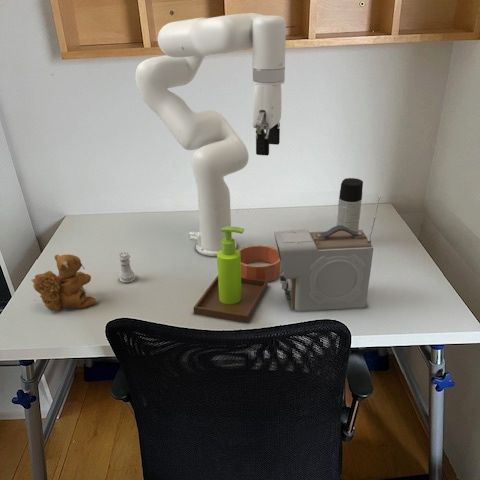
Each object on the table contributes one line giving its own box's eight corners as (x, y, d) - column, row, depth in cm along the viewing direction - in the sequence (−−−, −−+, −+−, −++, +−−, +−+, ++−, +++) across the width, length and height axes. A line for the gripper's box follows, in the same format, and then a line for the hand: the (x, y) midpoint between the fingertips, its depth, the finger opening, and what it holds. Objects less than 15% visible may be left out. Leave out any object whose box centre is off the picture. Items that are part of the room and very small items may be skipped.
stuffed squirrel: (100, 303, 141) (91, 258, 133) (46, 320, 134) (34, 274, 127) (87, 287, 148) (78, 244, 140) (35, 303, 141) (23, 258, 134)
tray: (194, 313, 136) (193, 307, 134) (219, 279, 150) (218, 273, 149) (247, 322, 132) (247, 316, 130) (267, 287, 146) (267, 280, 145)
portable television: (272, 291, 144) (274, 182, 127) (359, 286, 145) (372, 178, 129) (278, 315, 134) (281, 201, 117) (371, 310, 135) (387, 196, 119)
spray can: (359, 241, 169) (366, 179, 158) (353, 249, 164) (360, 186, 153) (338, 237, 171) (344, 176, 160) (332, 246, 166) (337, 183, 155)
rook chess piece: (122, 284, 149) (118, 259, 144) (117, 278, 152) (113, 252, 147) (137, 280, 150) (134, 255, 146) (132, 274, 154) (128, 249, 149)
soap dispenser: (243, 305, 138) (241, 233, 126) (216, 303, 139) (213, 232, 128) (247, 294, 142) (246, 223, 131) (222, 291, 144) (218, 222, 132)
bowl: (228, 279, 150) (228, 263, 147) (243, 258, 161) (243, 242, 158) (274, 285, 146) (275, 269, 144) (286, 263, 157) (287, 248, 154)
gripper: (263, 69, 134) (263, 139, 143) (242, 82, 120) (243, 158, 130) (293, 70, 132) (290, 141, 141) (274, 83, 118) (273, 160, 128)
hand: (268, 149), depth 136 cm, fingers open, 9 cm apart
